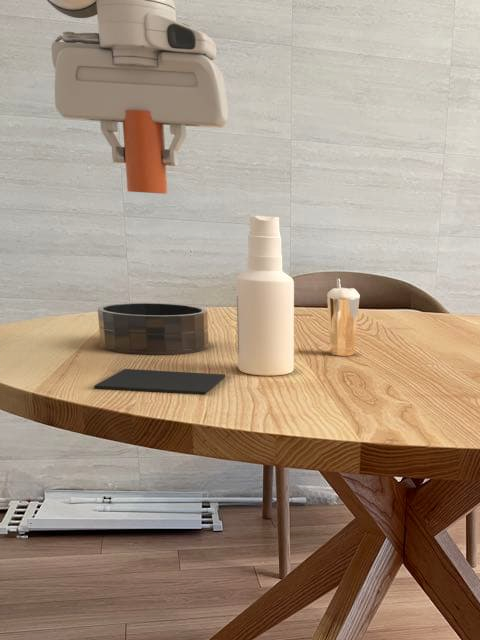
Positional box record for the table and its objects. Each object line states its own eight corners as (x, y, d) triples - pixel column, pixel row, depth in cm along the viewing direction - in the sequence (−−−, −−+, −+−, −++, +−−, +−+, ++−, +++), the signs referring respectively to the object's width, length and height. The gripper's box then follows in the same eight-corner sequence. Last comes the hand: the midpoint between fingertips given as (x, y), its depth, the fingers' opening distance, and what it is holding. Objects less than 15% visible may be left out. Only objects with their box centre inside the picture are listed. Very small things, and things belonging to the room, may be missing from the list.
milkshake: (351, 350, 121) (353, 279, 117) (361, 356, 116) (364, 283, 112) (321, 350, 119) (322, 278, 116) (330, 356, 115) (331, 282, 111)
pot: (85, 351, 109) (81, 312, 107) (121, 335, 122) (118, 300, 121) (193, 357, 109) (192, 318, 107) (218, 341, 123) (217, 306, 121)
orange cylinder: (122, 191, 101) (116, 109, 98) (134, 191, 106) (129, 113, 102) (161, 193, 101) (156, 111, 98) (171, 193, 106) (167, 115, 102)
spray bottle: (292, 366, 107) (292, 217, 100) (295, 376, 100) (295, 218, 94) (238, 365, 105) (235, 214, 99) (238, 375, 99) (234, 215, 92)
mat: (94, 388, 89) (94, 385, 89) (124, 371, 98) (124, 368, 98) (205, 394, 89) (205, 391, 89) (225, 376, 98) (225, 374, 98)
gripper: (38, 25, 94) (51, 158, 99) (217, 35, 94) (221, 167, 99) (60, 35, 100) (71, 161, 105) (229, 45, 100) (232, 169, 105)
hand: (146, 164), depth 102 cm, fingers closed on orange cylinder, 5 cm apart
